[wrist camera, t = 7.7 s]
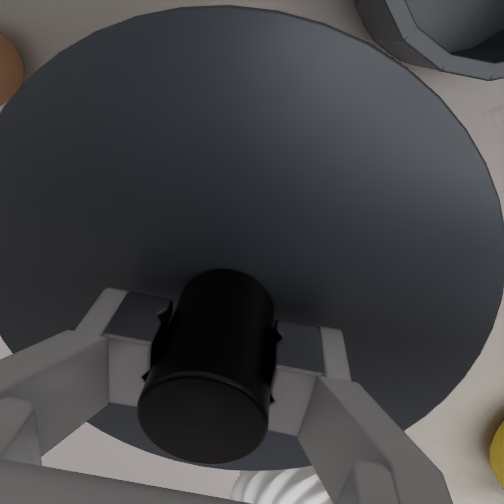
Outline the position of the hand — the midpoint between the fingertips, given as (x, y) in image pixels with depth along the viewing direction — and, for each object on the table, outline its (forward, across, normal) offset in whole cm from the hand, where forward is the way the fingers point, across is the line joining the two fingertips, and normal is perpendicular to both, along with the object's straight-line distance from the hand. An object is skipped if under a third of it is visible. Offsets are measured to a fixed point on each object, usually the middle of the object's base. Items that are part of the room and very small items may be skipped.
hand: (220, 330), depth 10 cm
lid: (+2, 0, 0) cm, 2 cm away
